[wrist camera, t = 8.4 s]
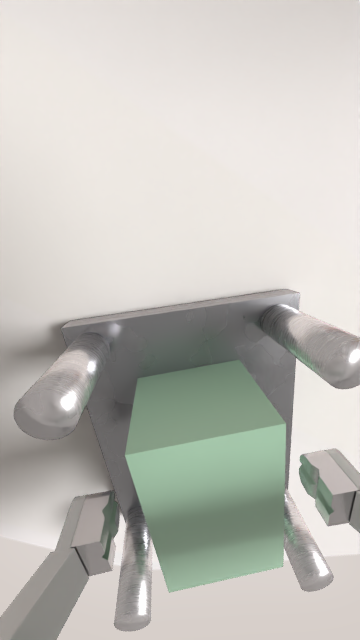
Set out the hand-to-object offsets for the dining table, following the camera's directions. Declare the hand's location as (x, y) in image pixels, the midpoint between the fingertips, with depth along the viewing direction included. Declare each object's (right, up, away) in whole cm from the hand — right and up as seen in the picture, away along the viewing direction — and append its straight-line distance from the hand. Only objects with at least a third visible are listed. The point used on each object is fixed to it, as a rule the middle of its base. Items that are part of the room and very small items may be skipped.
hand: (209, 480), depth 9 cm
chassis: (0, +1, +3) cm, 4 cm away
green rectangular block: (0, +1, +2) cm, 3 cm away
